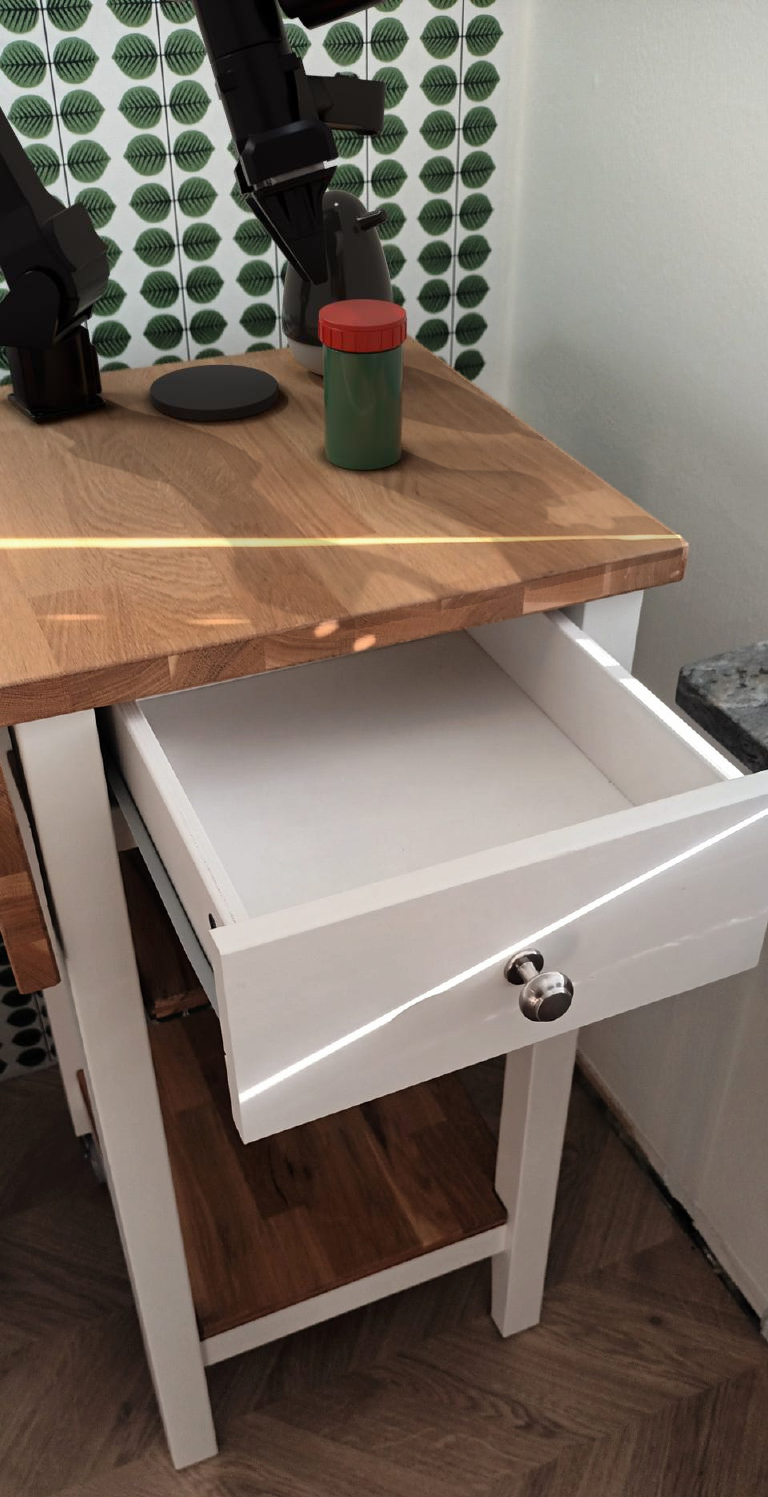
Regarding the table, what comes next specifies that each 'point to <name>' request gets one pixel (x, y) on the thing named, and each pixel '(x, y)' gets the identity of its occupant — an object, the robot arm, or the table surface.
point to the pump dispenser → (336, 274)
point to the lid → (362, 325)
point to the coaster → (214, 392)
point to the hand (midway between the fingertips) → (315, 282)
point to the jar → (363, 407)
